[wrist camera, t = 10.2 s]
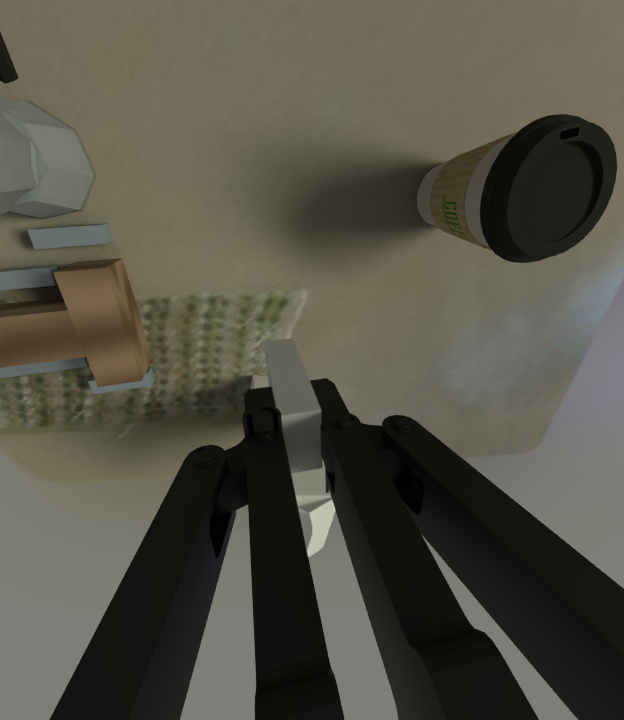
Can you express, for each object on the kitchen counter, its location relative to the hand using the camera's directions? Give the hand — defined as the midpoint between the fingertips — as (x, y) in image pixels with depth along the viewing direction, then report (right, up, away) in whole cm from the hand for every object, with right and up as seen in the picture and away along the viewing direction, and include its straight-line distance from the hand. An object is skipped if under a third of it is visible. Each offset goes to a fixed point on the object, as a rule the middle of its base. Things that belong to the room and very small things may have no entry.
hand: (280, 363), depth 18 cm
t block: (-22, +4, +16) cm, 28 cm away
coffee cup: (+16, +18, +19) cm, 31 cm away
